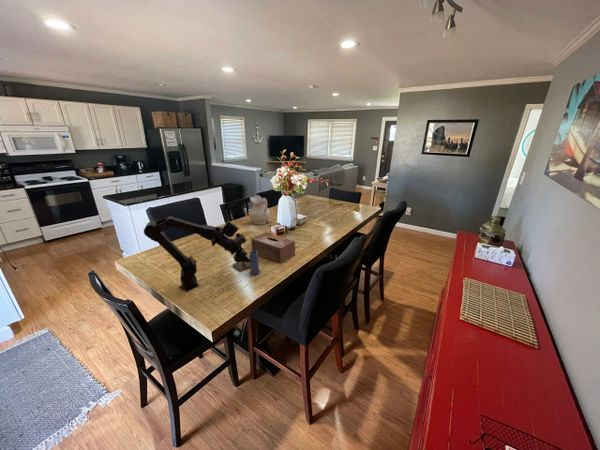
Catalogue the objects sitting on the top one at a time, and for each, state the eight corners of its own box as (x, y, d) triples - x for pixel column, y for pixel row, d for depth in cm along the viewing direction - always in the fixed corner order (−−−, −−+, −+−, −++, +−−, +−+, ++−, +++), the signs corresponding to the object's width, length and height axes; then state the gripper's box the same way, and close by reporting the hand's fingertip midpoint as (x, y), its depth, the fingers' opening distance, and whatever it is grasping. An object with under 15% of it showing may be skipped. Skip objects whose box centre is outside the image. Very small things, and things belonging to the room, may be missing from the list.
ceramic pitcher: (276, 223, 221) (276, 196, 214) (262, 227, 205) (262, 199, 198) (258, 219, 232) (258, 193, 225) (244, 223, 216) (243, 196, 209)
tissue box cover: (252, 251, 163) (251, 238, 159) (266, 244, 173) (266, 232, 170) (280, 263, 148) (280, 248, 145) (294, 254, 159) (294, 240, 156)
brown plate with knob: (240, 271, 138) (239, 265, 137) (232, 265, 145) (232, 259, 143) (255, 265, 145) (254, 259, 143) (247, 260, 151) (246, 254, 149)
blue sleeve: (255, 275, 134) (253, 255, 130) (249, 273, 137) (247, 252, 132) (260, 272, 138) (259, 251, 134) (254, 269, 140) (253, 249, 136)
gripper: (239, 237, 117) (262, 253, 125) (233, 225, 133) (254, 240, 141) (224, 255, 117) (248, 270, 125) (220, 240, 133) (241, 255, 141)
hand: (248, 257), depth 133 cm, fingers open, 9 cm apart
